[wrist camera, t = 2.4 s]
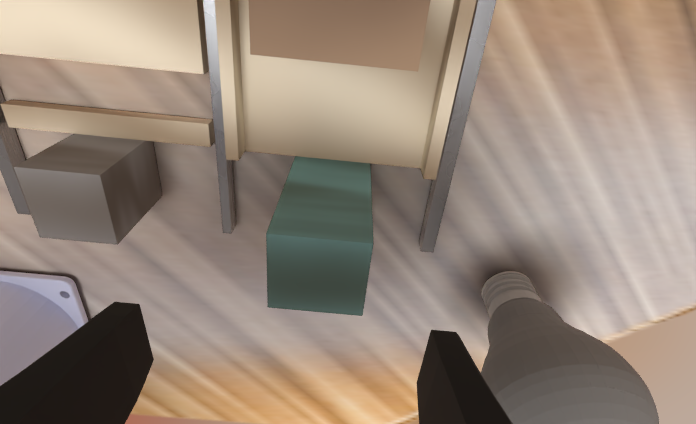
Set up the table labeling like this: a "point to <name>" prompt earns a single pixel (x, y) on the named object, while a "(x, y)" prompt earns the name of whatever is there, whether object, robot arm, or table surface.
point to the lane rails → (6, 152)
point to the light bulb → (554, 364)
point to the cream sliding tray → (334, 146)
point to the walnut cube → (340, 31)
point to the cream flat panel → (101, 110)
